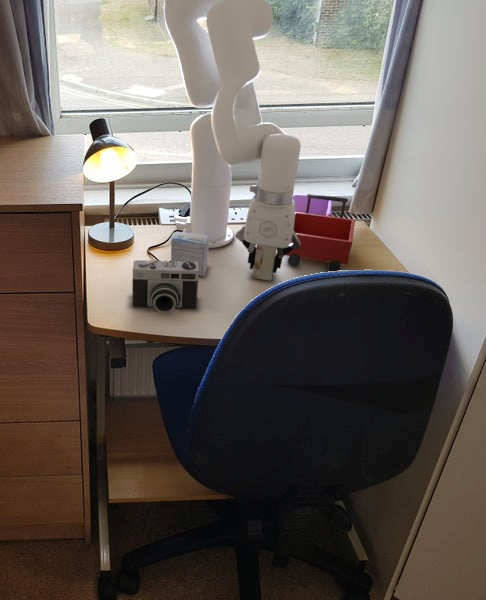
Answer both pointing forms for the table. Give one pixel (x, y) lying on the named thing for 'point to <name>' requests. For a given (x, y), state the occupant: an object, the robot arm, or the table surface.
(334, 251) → the cart
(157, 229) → the table surface
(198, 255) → the medicine box
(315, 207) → the miniature room corner
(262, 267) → the white carton box
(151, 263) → the camera
